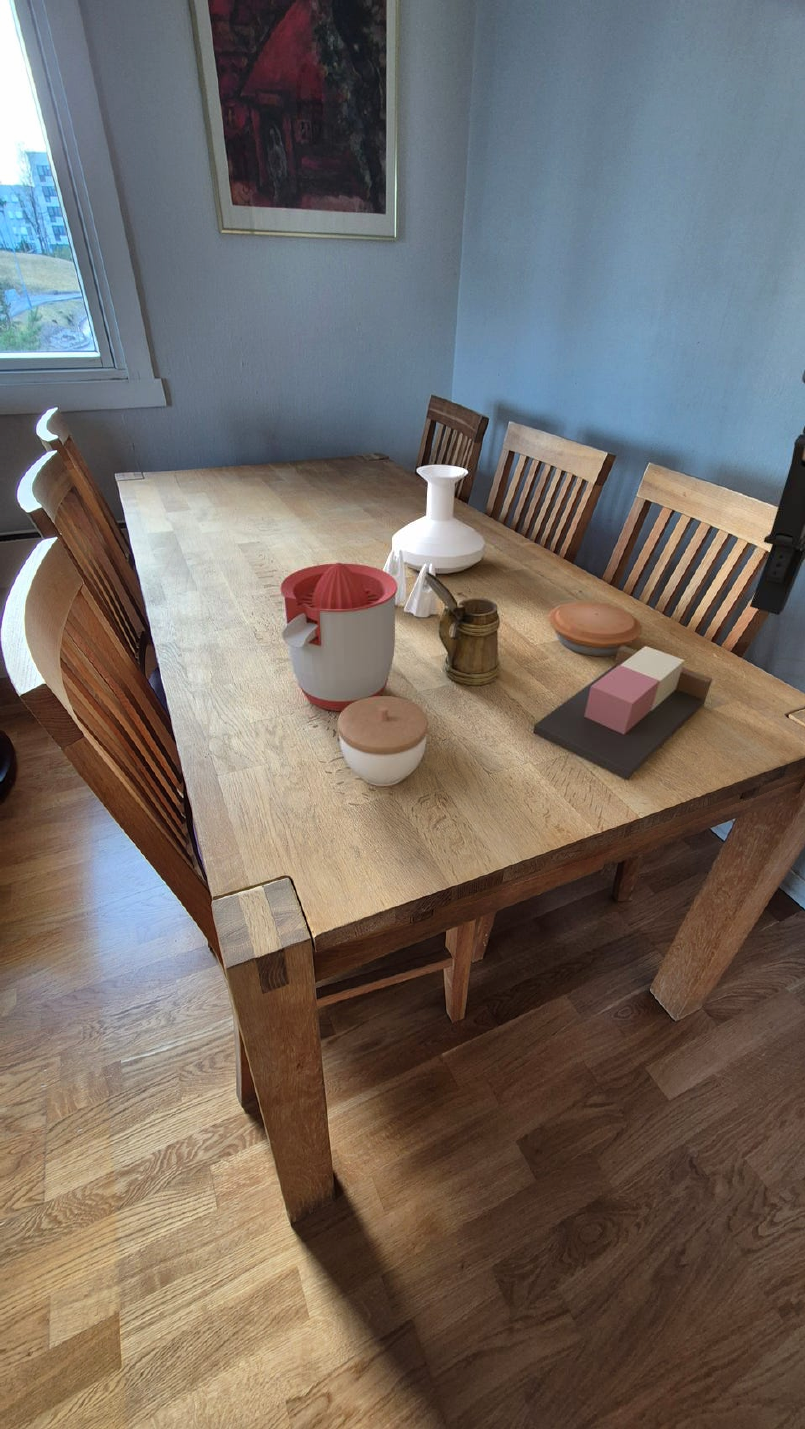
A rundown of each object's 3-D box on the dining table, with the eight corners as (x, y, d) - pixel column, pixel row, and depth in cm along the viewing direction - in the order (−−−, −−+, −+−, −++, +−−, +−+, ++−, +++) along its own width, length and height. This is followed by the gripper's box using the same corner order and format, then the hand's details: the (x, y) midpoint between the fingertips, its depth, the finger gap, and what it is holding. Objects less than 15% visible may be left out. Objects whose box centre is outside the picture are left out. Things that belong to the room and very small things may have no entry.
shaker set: (371, 606, 118) (371, 549, 111) (383, 598, 121) (383, 542, 114) (428, 621, 113) (430, 562, 107) (438, 612, 116) (441, 555, 110)
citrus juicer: (259, 700, 91) (241, 569, 79) (339, 654, 102) (334, 534, 91) (339, 741, 83) (333, 602, 72) (416, 687, 95) (421, 560, 83)
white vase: (458, 589, 125) (465, 490, 114) (373, 568, 133) (373, 474, 122) (497, 558, 139) (507, 468, 128) (419, 541, 147) (422, 455, 136)
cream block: (675, 689, 93) (684, 660, 90) (651, 711, 88) (660, 680, 85) (637, 674, 96) (645, 645, 93) (612, 694, 91) (620, 664, 88)
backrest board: (703, 704, 92) (712, 678, 90) (627, 780, 78) (635, 752, 75) (616, 670, 100) (622, 645, 97) (532, 733, 85) (537, 706, 83)
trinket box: (442, 779, 77) (447, 717, 72) (367, 811, 72) (366, 747, 67) (396, 735, 84) (397, 675, 79) (325, 761, 80) (321, 700, 74)
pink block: (650, 710, 88) (659, 680, 85) (624, 734, 83) (632, 703, 80) (611, 694, 91) (619, 664, 88) (583, 716, 86) (590, 686, 84)
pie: (642, 668, 101) (650, 640, 98) (544, 657, 103) (549, 629, 100) (632, 625, 113) (639, 600, 110) (546, 616, 115) (550, 591, 113)
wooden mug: (407, 671, 98) (410, 561, 88) (479, 652, 104) (490, 547, 94) (436, 698, 92) (443, 584, 82) (511, 677, 97) (526, 567, 87)
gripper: (913, 338, 43) (785, 643, 56) (944, 332, 51) (825, 600, 64) (795, 331, 47) (703, 616, 60) (840, 326, 55) (750, 580, 68)
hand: (766, 608), depth 62 cm, fingers closed
